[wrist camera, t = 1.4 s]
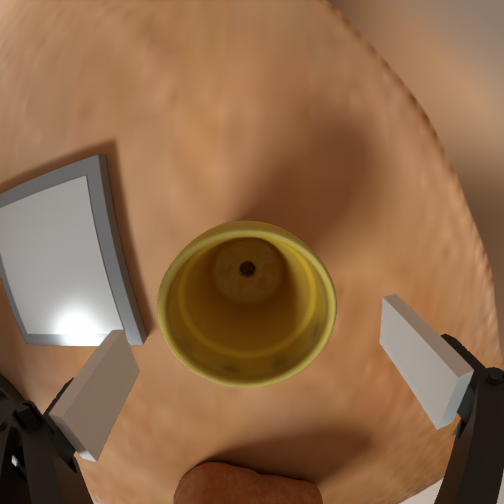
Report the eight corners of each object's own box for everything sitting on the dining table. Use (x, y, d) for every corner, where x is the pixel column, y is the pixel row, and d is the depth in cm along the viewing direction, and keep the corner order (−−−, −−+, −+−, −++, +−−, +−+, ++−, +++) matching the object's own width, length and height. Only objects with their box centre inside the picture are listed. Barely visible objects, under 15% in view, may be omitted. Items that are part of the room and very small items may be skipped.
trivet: (31, 338, 27) (25, 343, 25) (-8, 200, 22) (-16, 202, 21) (147, 336, 26) (143, 345, 25) (105, 155, 22) (97, 154, 20)
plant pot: (197, 196, 23) (165, 210, 14) (318, 221, 24) (361, 249, 14) (181, 307, 26) (152, 372, 16) (289, 327, 26) (308, 396, 17)
